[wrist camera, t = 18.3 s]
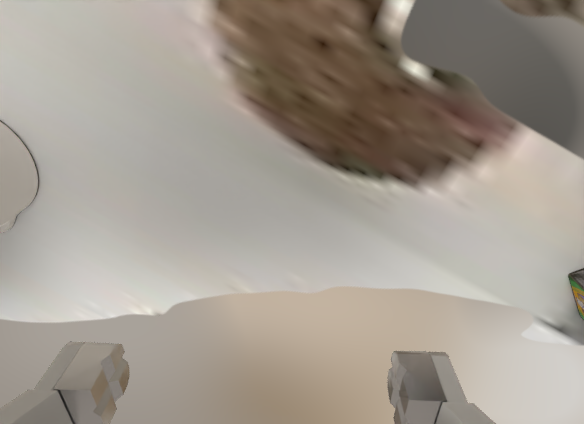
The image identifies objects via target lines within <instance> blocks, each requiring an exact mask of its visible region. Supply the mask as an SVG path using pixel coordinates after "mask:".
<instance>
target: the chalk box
mask: <svg viewBox="0 0 584 424" xmlns="http://www.w3.org/2000/svg"><path fill="white" fill-rule="evenodd" d="M569 279H570V282H571V286H572V290H573V293H574V297H575V300H576V303H577V307H578V310H579V313H580V316H581V318H582V319H583V320H584V269H582V270H579V271H576V272H573V273H571V274H569Z"/></svg>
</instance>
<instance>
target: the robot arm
mask: <svg viewBox="0 0 584 424" xmlns="http://www.w3.org/2000/svg"><path fill="white" fill-rule="evenodd" d="M37 188H38V176H37V170H36V167H35V164H34V161H33V159H32V157H31V155H30V153H29V152H28V150H27V148H26V147H25V145H24V144H23V143H22V141H21V140H20V139H19V138H18V137H17V136H16V135H15V134H14V133H13V132H12V131H11V130H10V129H9V128H8V127H7V126H6V125H4V124H3V123H2V122H0V233H4V232H6V231H7V230H9V229H11V228H12V226H13V224H14V222H15V219H16V216H17V215H18V214H19V213H20V212H21V211H22V210H24V209H25V208H27V207H28V206H29V205H30V204H31V202H32V201H33V199H34V198H35V195H36V193H37ZM123 354H124V349H123V346H122V344H112V343H111V344H110V343H95V342H94V343H93V342H72V341H70V342H69V343H67V344H66V345H65V346H64V347H63V348H62V350H61V351H60V353H59V354H58V355H57V357H56V358H55V360H54V361H53V362H52V364H51V366H50V367H49V368H48V370H47V371H46V373H45V374H44V375H43V377H42V378H41V380H40V381H39V382H38V384H37V385H36V387H35V388H34V390H27V391H25V392H24V393H22V394H21V395H19V396H18V397H16V398H15V399H13V400H12V401H11V402H9V403H8V404H6V405H4V406H3V407H1V408H0V424H110V422H111V420H112V418H113V416H114V414H115V412H116V409H117V408H116V405H115V401H116V400H117V399H118V398H120V397H121V396H122V395H123V394H124V392H125V390H126V387H127V385H128V380H129V365H128V362H127V361H126V360H124V359H123V358H122V356H123ZM391 362H392V366H393V367H392V368H391V369H389V373H388V393H389V399H390V403H391V404H392V405H393V406H394V407H395V413H394V422H395V424H496V423H495V422H493V421H492V420H491V419H490V418H489V417H488V416H487V415H486V414H484V413H483V412H482V411H481V410H480V409H479V408H478V407H477V406H476V405H475V404H473V403H468V402H467V400H466V397H465V395H464V393H463V390H462V388H461V385H460V383H459V380H458V378H457V376H456V373H455V371H454V368H453V366H452V364H451V361H450V359H449V356H448V355H447V354H446V353H445V352H426V351H394V352H393V353H392V357H391Z"/></svg>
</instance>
